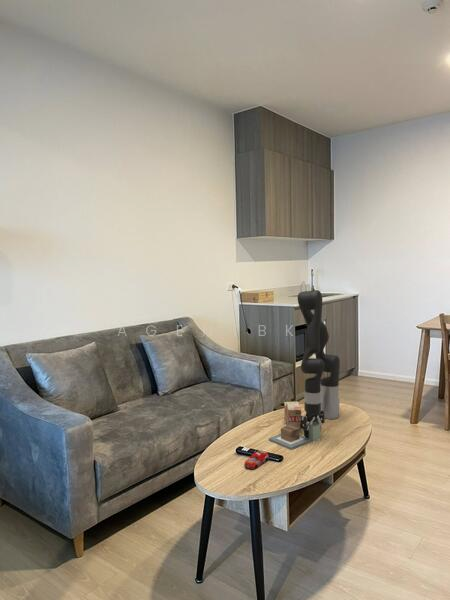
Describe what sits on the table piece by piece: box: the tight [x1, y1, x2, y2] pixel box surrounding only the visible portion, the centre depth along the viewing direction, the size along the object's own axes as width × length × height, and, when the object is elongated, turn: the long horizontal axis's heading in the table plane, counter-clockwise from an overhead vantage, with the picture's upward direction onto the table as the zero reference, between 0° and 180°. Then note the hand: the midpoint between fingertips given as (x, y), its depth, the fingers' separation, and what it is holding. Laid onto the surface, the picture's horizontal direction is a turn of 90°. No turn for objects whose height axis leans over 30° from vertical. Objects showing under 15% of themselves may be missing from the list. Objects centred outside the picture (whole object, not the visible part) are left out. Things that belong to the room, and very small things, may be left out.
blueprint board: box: [268, 425, 313, 451], centre depth 201 cm, size 14×14×6 cm
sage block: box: [306, 422, 322, 442], centre depth 203 cm, size 5×5×7 cm
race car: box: [243, 451, 270, 470], centre depth 179 cm, size 13×5×4 cm, turn 141°
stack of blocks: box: [283, 401, 302, 434], centre depth 220 cm, size 21×6×12 cm, turn 178°
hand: (312, 435), depth 203 cm, fingers open, 8 cm apart
